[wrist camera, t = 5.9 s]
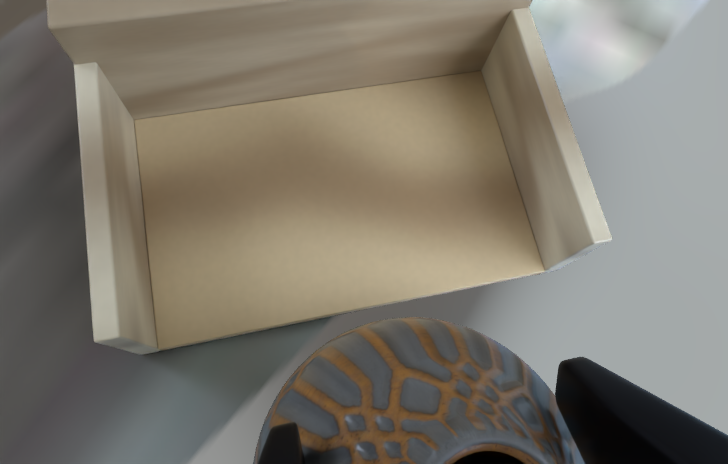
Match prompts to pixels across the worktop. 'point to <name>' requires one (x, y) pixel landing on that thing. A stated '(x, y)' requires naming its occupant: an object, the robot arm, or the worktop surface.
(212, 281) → the shoe shelf
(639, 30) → the worktop surface
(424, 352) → the vase
